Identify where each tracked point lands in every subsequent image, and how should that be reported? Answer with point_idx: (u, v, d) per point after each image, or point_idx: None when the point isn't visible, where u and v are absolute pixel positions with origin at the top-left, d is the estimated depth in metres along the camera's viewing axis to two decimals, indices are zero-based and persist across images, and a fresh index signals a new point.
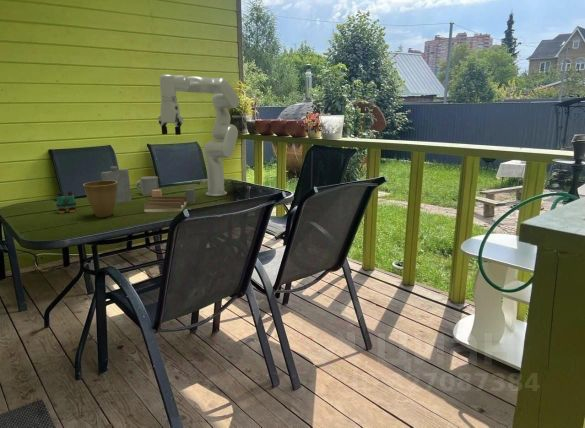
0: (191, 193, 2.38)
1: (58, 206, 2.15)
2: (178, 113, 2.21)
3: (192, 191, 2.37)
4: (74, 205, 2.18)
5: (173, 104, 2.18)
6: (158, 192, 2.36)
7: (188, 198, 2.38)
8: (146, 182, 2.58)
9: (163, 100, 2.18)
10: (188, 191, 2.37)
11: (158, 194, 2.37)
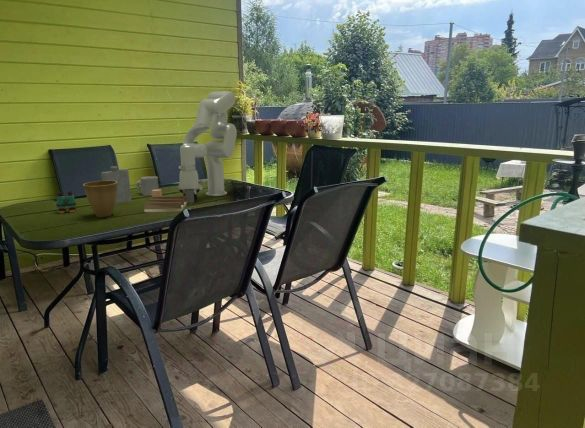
0: (191, 193, 2.38)
1: (58, 206, 2.15)
2: None
3: (192, 191, 2.37)
4: (74, 205, 2.18)
5: None
6: (158, 192, 2.36)
7: (188, 198, 2.38)
8: (146, 182, 2.58)
9: None
10: (188, 191, 2.37)
11: (158, 194, 2.37)
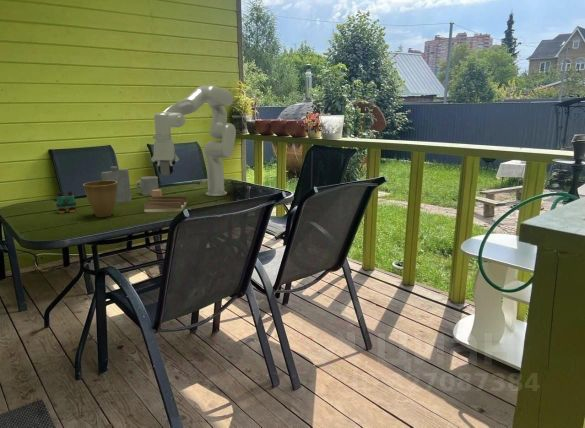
0: (166, 165, 2.23)
1: (58, 206, 2.15)
2: None
3: (167, 162, 2.23)
4: (74, 205, 2.18)
5: None
6: (158, 192, 2.36)
7: (163, 170, 2.24)
8: (146, 182, 2.58)
9: None
10: (163, 162, 2.23)
11: (158, 194, 2.37)
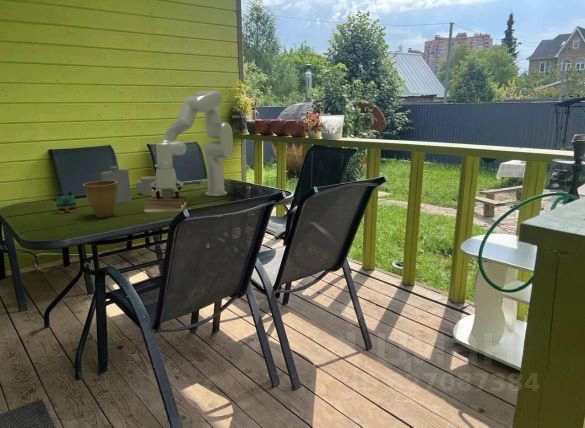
0: (168, 194, 2.27)
1: (58, 206, 2.15)
2: (156, 179, 2.26)
3: (169, 192, 2.27)
4: (74, 205, 2.18)
5: None
6: None
7: None
8: (146, 182, 2.58)
9: None
10: (165, 192, 2.27)
11: None
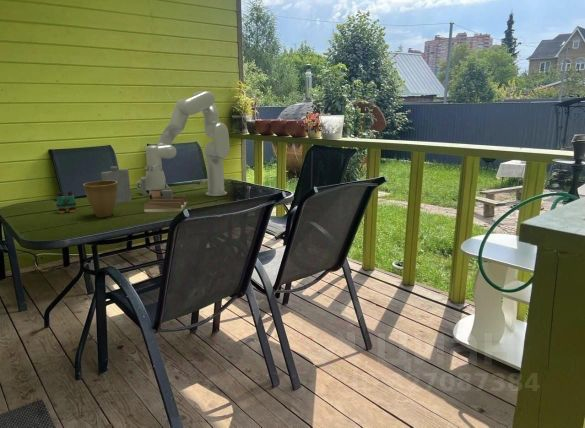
0: (168, 194, 2.27)
1: (58, 206, 2.15)
2: None
3: (169, 192, 2.27)
4: (74, 205, 2.18)
5: None
6: (158, 192, 2.36)
7: None
8: None
9: None
10: (165, 192, 2.27)
11: (158, 194, 2.37)
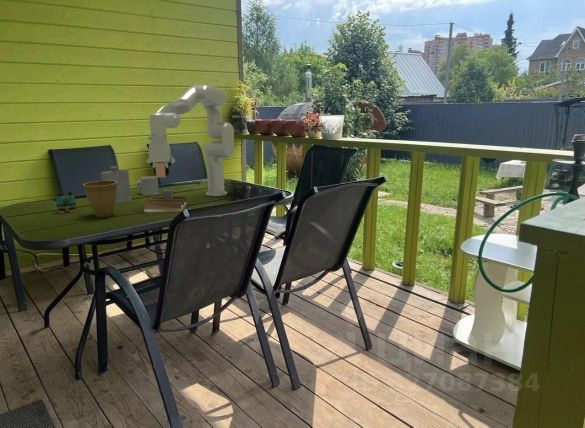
0: (168, 194, 2.27)
1: (58, 206, 2.15)
2: (149, 152, 2.15)
3: (169, 192, 2.27)
4: (74, 205, 2.18)
5: None
6: (162, 165, 2.16)
7: None
8: (146, 182, 2.58)
9: None
10: (165, 192, 2.27)
11: (162, 167, 2.16)
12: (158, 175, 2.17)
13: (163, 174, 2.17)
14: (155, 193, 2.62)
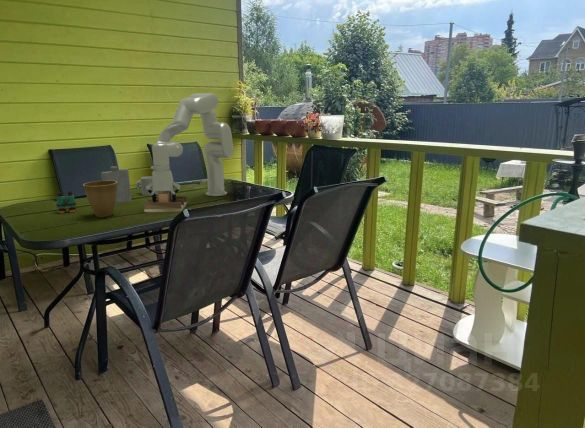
0: None
1: (58, 206, 2.15)
2: (152, 181, 2.18)
3: (169, 192, 2.27)
4: (74, 205, 2.18)
5: None
6: (166, 195, 2.19)
7: None
8: (146, 182, 2.58)
9: None
10: (165, 192, 2.27)
11: (165, 197, 2.19)
12: None
13: None
14: (155, 193, 2.62)
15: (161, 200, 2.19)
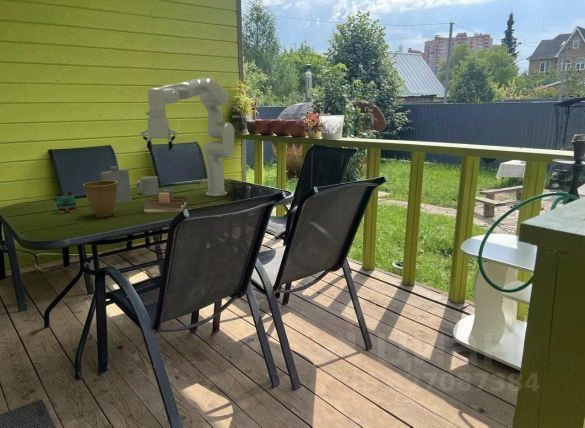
0: None
1: (58, 206, 2.15)
2: None
3: (169, 192, 2.27)
4: (74, 205, 2.18)
5: None
6: (166, 195, 2.19)
7: None
8: (146, 182, 2.58)
9: None
10: (165, 192, 2.27)
11: (165, 197, 2.19)
12: None
13: None
14: (155, 193, 2.62)
15: (161, 200, 2.19)
